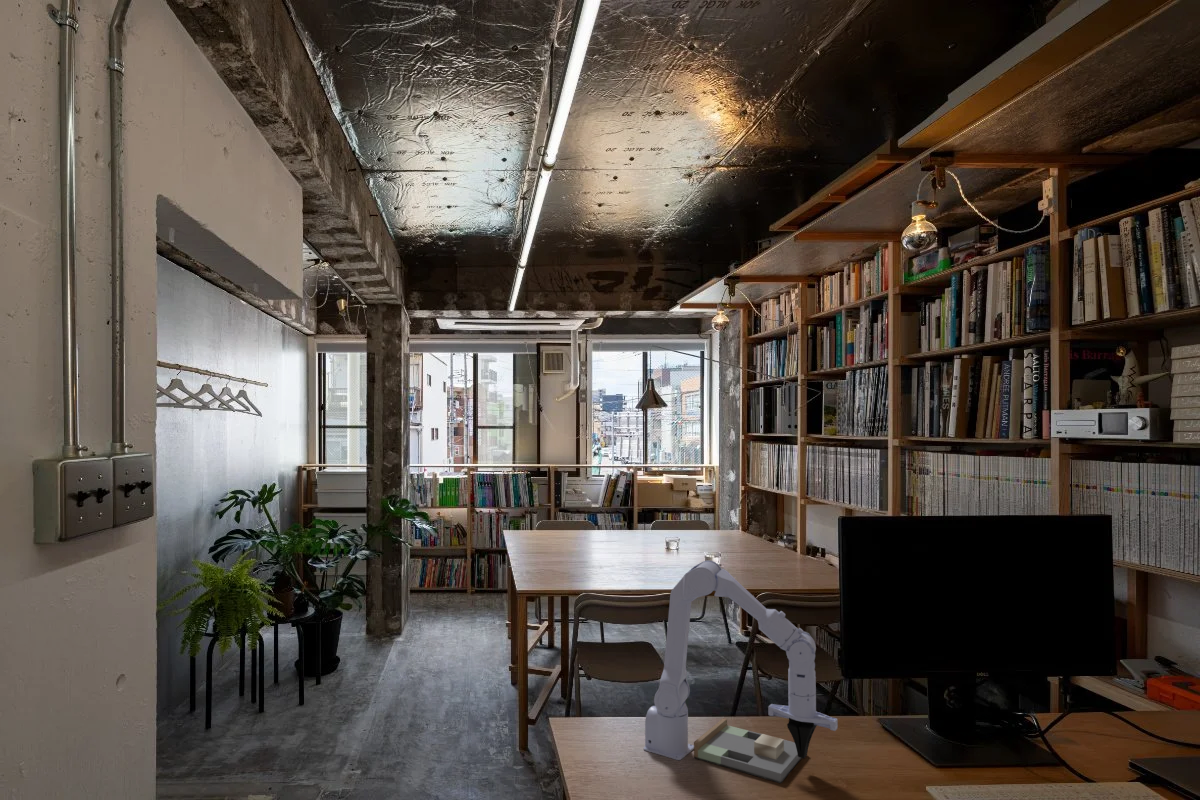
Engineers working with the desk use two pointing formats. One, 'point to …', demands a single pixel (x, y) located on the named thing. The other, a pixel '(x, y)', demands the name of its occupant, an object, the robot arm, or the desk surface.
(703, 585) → the robot arm
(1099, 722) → the desk surface
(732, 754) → the board
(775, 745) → the cream block
